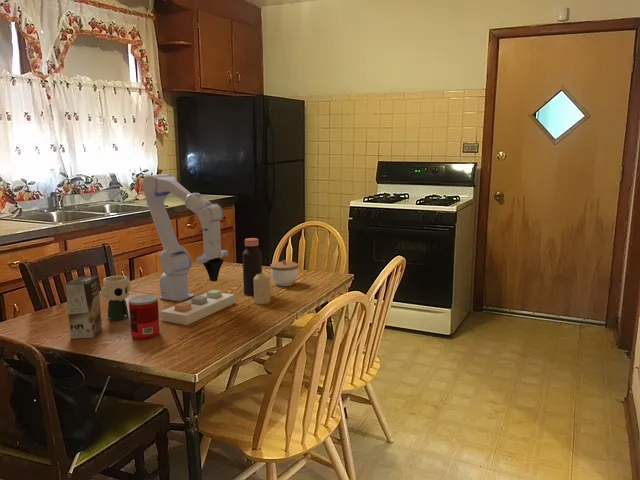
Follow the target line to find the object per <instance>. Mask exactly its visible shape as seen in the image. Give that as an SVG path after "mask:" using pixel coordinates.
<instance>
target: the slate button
mask: <svg viewBox="0 0 640 480" xmlns="http://www.w3.org/2000/svg"><path fill="white" fill-rule="evenodd" d="M190 298H191V304H196V305H202V304H205V303H207V297H205V296H200V295H195V296H192V297H190Z"/></svg>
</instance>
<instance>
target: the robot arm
mask: <svg viewBox="0 0 640 480" xmlns="http://www.w3.org/2000/svg"><path fill="white" fill-rule="evenodd" d="M141 187H142V188H141V189H142V191H143V194H144V197H145V200H146V205H147V208H148V210H149V212H150V216H151V218H152V221H153V223H154V227H155V229H156V231H157V234H158V238H159V241H160V243H161V246H162V249H163V250H162V252H161V253H160V254H159V259H160V268H161V271H162V272H163V273H162V274H161V275H160V278H159V285H160V286H159V287H160V288H159V289H160V296H159V299H163V300H170V301H175V302H183V301H186V300H187V299H189V298H193V297H195V294H193V293H190V292H189V290H190V289H189V275H188V273H189V272H190V269H191V268H192V266H193V265H192V264H193V259H192V257H191V255H190V254H189V252H188V251H187V248H186V247H184V246H183V245H181V244H179V241H178V238H177V236H176V233H175V230H174V228H173V225H172V222H171V219H170V216H169V214H168V211H167V209H166V205H165V201H166V199H167V198H168V197H169V196H170V195H171V194H172V195H173V196H176V197H177V198H178V199H180V200H181V201H183V202H184V206H185V207H186V208H187V209H189V210H190V211H192V212H193V213H194V214H195V215H197V217H198V220H199V221H200V224H201V225H200V226H201V228H202V242H203V254H202V255H200V256H199V257H197V258H196V259H195V260H196V265H203V267H204V268H205V270H206V272H207V274H208V278H209V281H210V282H215V283H216V282H217V281H218V279H219V275H220V271H221V268H222V265H223V263H224V259H223V257H228V256H229V250H226V249H222V242H221V241H222V239H221V236H222V235H221V221H222V220H223V217H224V210H223V208H222V207H221V206H220V205H219V203H211V201H209V200H207V199H205V198H204V197H203V196H201V195H202V194H201V193H199V192H192V193H191V192H190V191H189V190H188V189H186V188H185V187H184V186H183V185H182V184H181V183H180V182H178V181H177V178H176V177H175V176H173V174H171V173H167V172H166V173H161V174H147V175H145V176H144V177H143V180H142V183H141Z"/></svg>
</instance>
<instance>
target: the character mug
mask: <svg viewBox="0 0 640 480" xmlns="http://www.w3.org/2000/svg"><path fill="white" fill-rule="evenodd" d="M102 282H103V287H101V289H100V292H101V293H100V294H101V295H100V296H101V298H103V299H104V298H105V300H107V301H108V304H107V305H108V307H107V318H108V319H110V320H122V319H124V318H125V317H126V318H128V317H130V314H129V308H128V306H127V301H126V299H127V298H128V296H129V294H130V290H131V281H130V280H129V279H128V277H127V275H126V276H125V275H110V276H108V277H104V278H103V280H102Z"/></svg>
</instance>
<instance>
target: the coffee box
mask: <svg viewBox="0 0 640 480" xmlns="http://www.w3.org/2000/svg"><path fill="white" fill-rule="evenodd" d="M99 285H100V284H99V275H96V276H95V275H88V276H87V275H85V276H77V277H75V278H73V279H72V280H70V281H68V282H67V283H65V290H66V301H67V315H68V327H69V338H70V339H91V338H94V337H95V336H96V334H98V332H99V331H100V330H102V328H103V323H102V310H101V299H100V298H101V295H100V286H99Z"/></svg>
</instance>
